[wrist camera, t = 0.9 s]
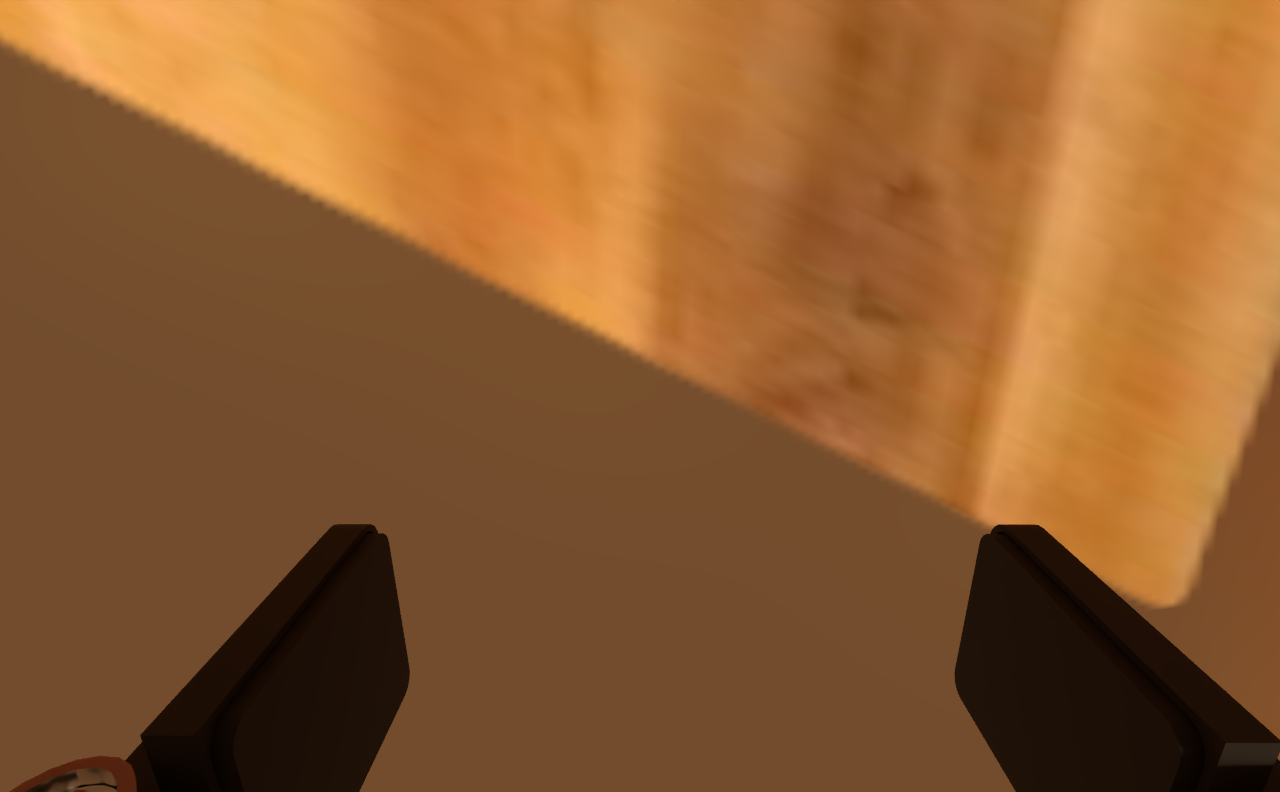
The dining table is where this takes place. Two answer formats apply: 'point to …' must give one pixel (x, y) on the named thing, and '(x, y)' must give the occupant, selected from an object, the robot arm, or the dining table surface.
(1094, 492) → the dining table surface
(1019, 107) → the dining table surface
